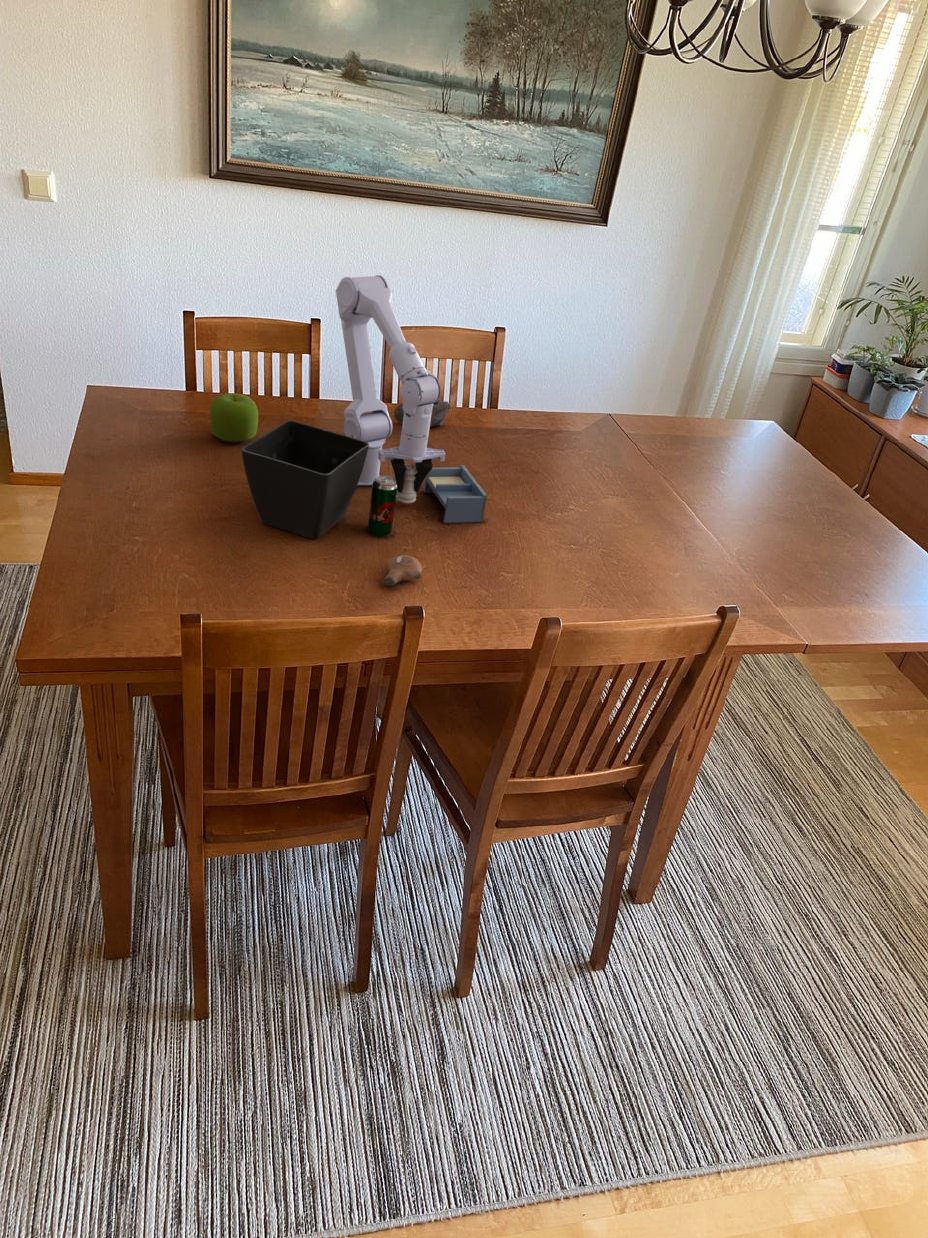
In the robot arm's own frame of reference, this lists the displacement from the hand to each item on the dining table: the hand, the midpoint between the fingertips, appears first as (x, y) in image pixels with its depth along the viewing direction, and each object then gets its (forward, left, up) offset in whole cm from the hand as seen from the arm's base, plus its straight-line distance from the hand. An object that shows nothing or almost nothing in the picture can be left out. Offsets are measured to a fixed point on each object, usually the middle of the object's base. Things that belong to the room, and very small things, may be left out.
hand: (407, 490), depth 195 cm
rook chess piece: (0, 0, -3) cm, 3 cm away
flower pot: (-24, -5, -4) cm, 25 cm away
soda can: (-9, -11, -4) cm, 15 cm away
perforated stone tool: (+18, +45, -4) cm, 49 cm away
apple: (-32, +36, -4) cm, 48 cm away
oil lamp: (-10, -29, -4) cm, 31 cm away
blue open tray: (+11, -1, -4) cm, 12 cm away
